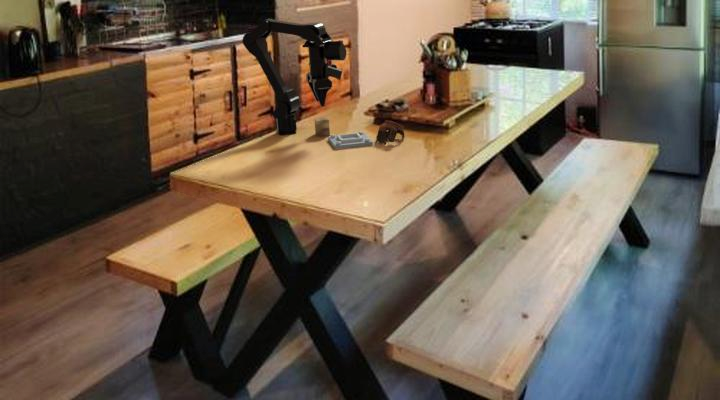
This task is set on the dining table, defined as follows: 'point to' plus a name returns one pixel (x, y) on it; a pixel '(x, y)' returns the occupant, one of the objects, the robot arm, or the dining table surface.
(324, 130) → the block
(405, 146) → the dining table surface
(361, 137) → the board
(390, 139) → the pottery mug
